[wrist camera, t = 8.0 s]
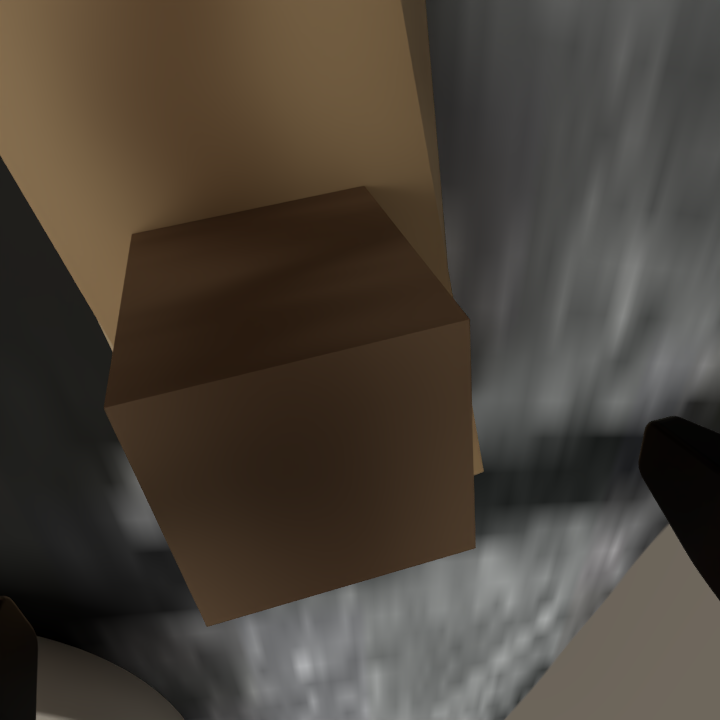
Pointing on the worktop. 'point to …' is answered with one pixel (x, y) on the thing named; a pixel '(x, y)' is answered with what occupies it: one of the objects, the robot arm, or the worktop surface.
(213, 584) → the walnut block
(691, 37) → the worktop surface
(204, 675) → the worktop surface
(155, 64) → the oak slab
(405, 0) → the beech slab
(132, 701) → the bowl
